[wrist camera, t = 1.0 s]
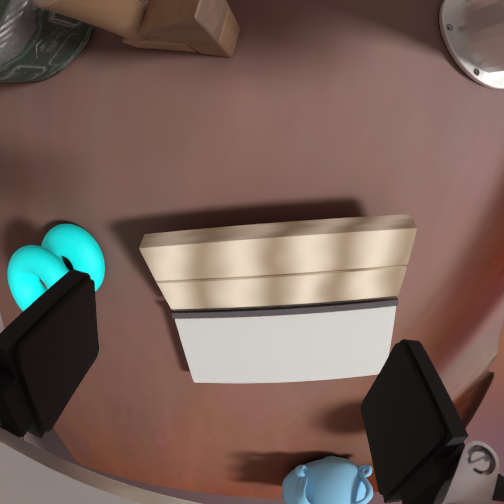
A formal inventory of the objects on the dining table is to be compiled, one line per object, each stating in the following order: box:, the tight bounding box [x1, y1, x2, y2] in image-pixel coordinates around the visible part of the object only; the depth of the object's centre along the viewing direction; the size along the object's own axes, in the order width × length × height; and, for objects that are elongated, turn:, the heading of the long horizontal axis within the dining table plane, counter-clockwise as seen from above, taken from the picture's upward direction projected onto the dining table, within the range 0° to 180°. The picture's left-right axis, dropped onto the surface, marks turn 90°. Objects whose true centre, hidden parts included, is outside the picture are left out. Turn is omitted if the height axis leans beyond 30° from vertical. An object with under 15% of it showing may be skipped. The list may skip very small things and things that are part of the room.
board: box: [171, 296, 398, 383], centre depth 39 cm, size 26×12×2 cm, turn 96°
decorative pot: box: [282, 456, 373, 504], centre depth 47 cm, size 16×16×14 cm
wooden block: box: [33, 0, 240, 58], centre depth 19 cm, size 4×11×18 cm, turn 77°
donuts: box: [8, 224, 105, 311], centre depth 34 cm, size 10×10×10 cm
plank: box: [139, 214, 417, 309], centre depth 32 cm, size 26×10×2 cm, turn 96°
